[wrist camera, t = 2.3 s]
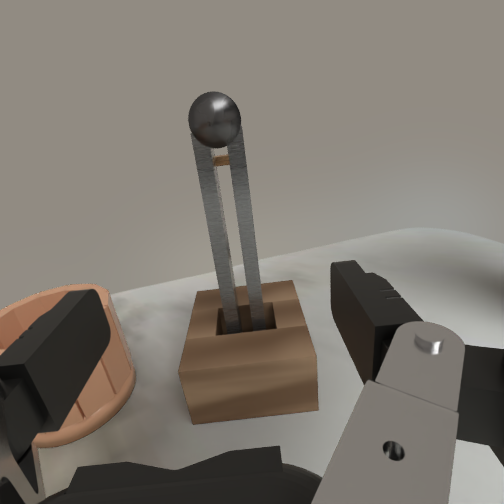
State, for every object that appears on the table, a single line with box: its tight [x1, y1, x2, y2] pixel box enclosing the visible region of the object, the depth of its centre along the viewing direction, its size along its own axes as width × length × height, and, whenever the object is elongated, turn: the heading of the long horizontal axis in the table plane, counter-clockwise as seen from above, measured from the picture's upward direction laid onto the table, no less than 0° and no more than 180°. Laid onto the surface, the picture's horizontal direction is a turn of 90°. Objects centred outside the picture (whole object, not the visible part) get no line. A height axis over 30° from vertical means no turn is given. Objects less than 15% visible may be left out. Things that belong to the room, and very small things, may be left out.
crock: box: [0, 284, 136, 448], centre depth 24 cm, size 9×9×8 cm
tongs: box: [188, 92, 266, 334], centre depth 23 cm, size 3×3×21 cm
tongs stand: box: [178, 280, 319, 425], centre depth 26 cm, size 10×9×5 cm
